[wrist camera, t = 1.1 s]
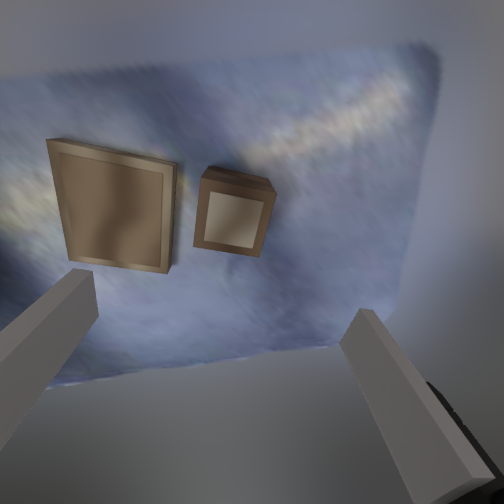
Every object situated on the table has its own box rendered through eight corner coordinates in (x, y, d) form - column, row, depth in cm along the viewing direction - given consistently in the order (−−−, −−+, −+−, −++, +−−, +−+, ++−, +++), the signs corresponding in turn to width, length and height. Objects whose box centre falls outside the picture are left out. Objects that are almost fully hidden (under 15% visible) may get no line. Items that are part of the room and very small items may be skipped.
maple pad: (78, 252, 30) (68, 261, 28) (59, 138, 24) (44, 139, 22) (171, 266, 32) (167, 274, 30) (177, 163, 26) (172, 166, 24)
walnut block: (202, 221, 29) (192, 247, 23) (209, 165, 26) (200, 178, 20) (254, 230, 30) (259, 258, 24) (267, 178, 27) (277, 194, 21)
